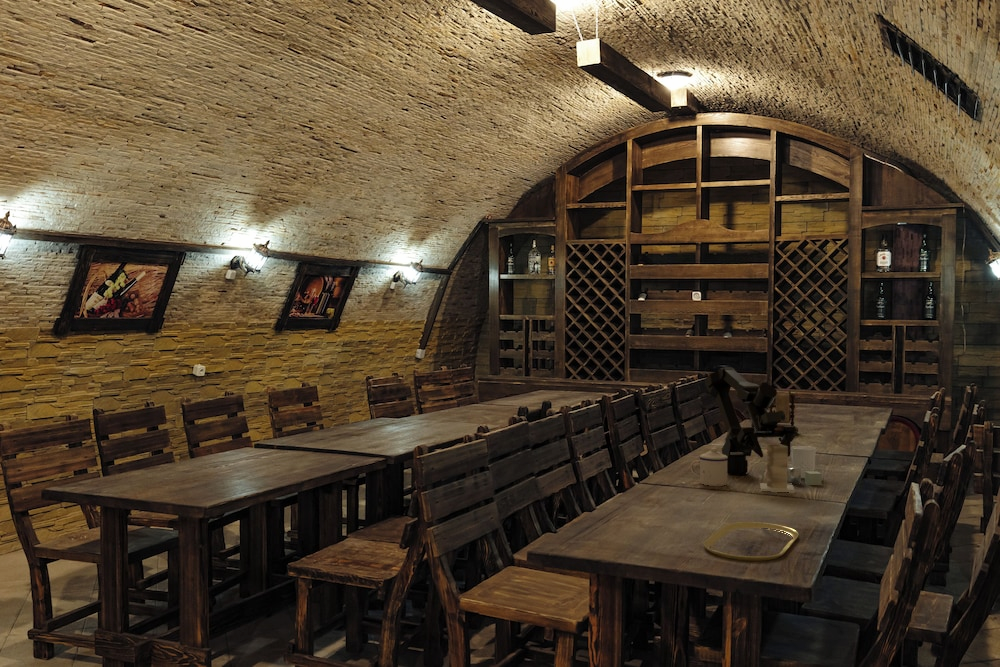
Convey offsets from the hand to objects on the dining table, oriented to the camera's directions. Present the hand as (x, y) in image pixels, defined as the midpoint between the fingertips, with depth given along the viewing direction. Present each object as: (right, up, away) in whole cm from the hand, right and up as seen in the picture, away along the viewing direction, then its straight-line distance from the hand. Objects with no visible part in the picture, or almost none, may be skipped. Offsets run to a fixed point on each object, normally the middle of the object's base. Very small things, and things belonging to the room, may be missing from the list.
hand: (775, 456), depth 289 cm
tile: (0, -10, -1) cm, 10 cm away
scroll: (+41, -7, +128) cm, 134 cm away
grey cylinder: (+9, -10, +10) cm, 17 cm away
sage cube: (+15, -10, +9) cm, 20 cm away
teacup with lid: (-19, -10, +9) cm, 23 cm away
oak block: (0, -9, -1) cm, 9 cm away
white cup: (+16, -10, +22) cm, 29 cm away
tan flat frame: (-26, -13, -65) cm, 71 cm away
